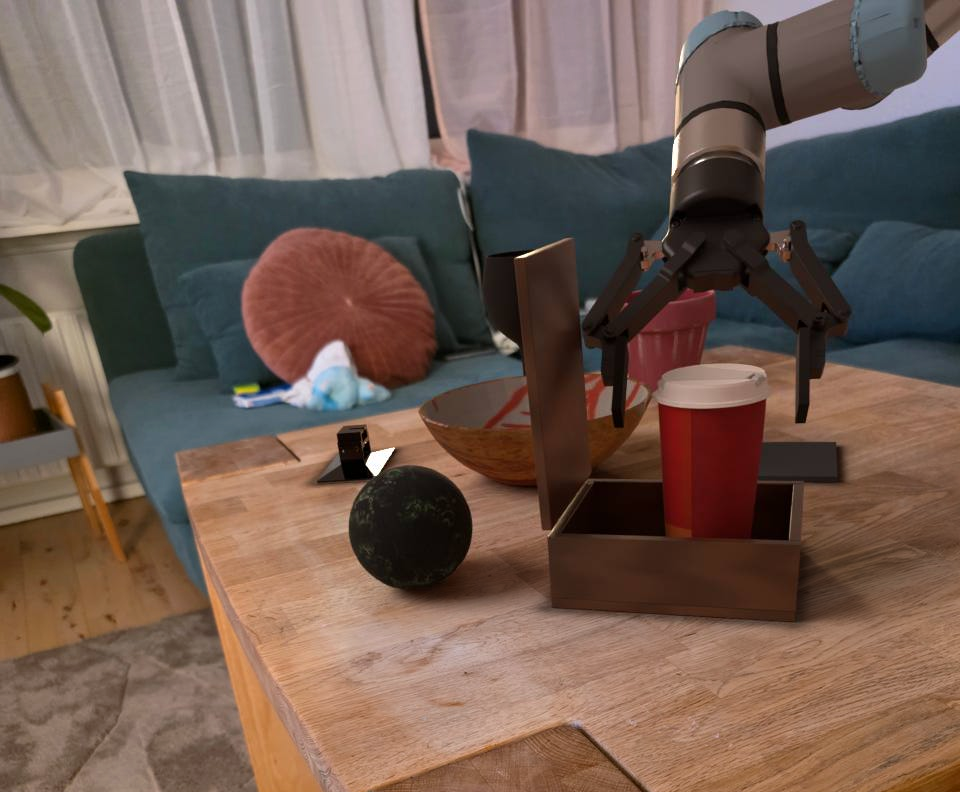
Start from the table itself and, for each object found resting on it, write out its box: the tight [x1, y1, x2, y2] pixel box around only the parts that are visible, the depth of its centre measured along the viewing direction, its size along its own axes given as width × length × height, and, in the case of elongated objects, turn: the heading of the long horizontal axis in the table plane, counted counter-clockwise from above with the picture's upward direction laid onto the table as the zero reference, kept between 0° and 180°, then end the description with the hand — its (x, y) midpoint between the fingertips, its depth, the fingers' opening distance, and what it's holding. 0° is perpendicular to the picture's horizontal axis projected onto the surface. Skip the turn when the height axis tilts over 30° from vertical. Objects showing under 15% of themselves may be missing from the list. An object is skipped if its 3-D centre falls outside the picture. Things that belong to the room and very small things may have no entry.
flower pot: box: [619, 289, 717, 392], centre depth 126 cm, size 14×14×13 cm
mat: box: [757, 441, 839, 483], centre depth 94 cm, size 12×12×1 cm
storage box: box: [546, 478, 805, 622], centre depth 70 cm, size 18×14×6 cm
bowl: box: [417, 372, 653, 487], centre depth 97 cm, size 25×25×8 cm
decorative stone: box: [348, 464, 474, 591], centre depth 72 cm, size 10×10×10 cm
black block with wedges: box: [315, 424, 396, 485], centre depth 107 cm, size 12×7×5 cm, turn 175°
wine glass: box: [482, 248, 538, 376], centre depth 124 cm, size 10×10×20 cm
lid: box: [514, 237, 592, 531], centre depth 67 cm, size 19×14×1 cm
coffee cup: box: [651, 363, 773, 539], centre depth 66 cm, size 8×8×15 cm
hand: (707, 417), depth 68 cm, fingers open, 13 cm apart
